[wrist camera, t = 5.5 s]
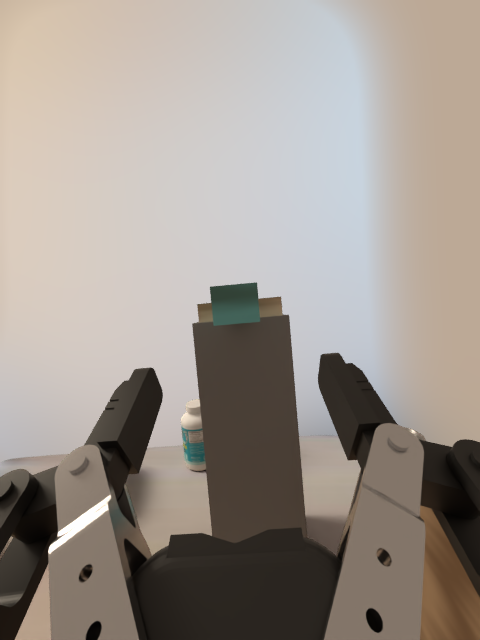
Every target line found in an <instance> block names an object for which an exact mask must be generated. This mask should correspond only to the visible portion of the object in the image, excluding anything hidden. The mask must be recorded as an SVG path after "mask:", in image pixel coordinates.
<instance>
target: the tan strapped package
mask: <svg viewBox="0 0 480 640" xmlns="http://www.w3.org/2000/svg"><path fill="white" fill-rule="evenodd" d="M210 293H211V303H206V304H198V316H199V323H202V322H213V325H214V326H217V325H229V324H240V323H252V322H260V317H271V316H282V303H281V297H273V298H262V299H258V290H257V283H247V284H237V285H225V286H214V287H210Z"/></svg>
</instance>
